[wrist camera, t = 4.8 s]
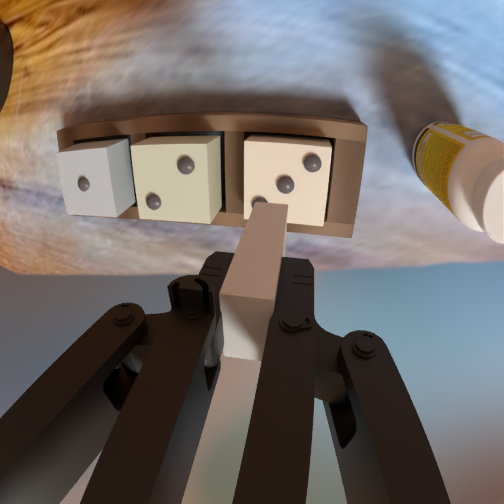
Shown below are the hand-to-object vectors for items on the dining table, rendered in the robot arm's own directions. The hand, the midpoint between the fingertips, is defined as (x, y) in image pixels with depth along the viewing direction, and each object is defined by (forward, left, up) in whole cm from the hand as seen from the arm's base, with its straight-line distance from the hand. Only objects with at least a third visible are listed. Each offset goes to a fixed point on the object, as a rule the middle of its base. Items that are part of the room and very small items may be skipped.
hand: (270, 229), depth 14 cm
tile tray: (-8, 0, -12) cm, 14 cm away
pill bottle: (+13, +3, -12) cm, 18 cm away
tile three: (0, 0, -11) cm, 11 cm away
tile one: (-16, 0, -9) cm, 18 cm away
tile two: (-8, 0, -9) cm, 12 cm away
